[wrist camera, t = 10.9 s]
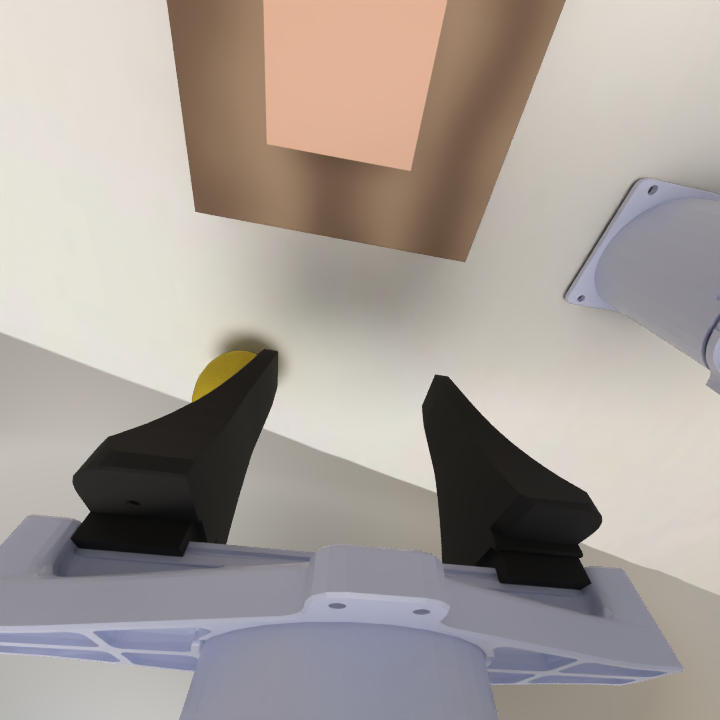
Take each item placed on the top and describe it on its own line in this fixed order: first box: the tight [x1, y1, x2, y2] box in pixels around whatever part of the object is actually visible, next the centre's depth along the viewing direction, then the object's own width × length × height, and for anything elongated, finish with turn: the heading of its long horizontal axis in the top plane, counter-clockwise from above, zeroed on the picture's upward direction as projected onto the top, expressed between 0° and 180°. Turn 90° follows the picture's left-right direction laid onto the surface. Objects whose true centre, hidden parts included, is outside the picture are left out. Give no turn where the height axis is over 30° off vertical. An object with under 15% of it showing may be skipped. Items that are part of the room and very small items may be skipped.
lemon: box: [192, 350, 257, 402], centre depth 23 cm, size 6×6×8 cm
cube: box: [263, 0, 447, 171], centre depth 11 cm, size 5×5×6 cm
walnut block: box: [167, 0, 566, 262], centre depth 14 cm, size 16×16×2 cm
